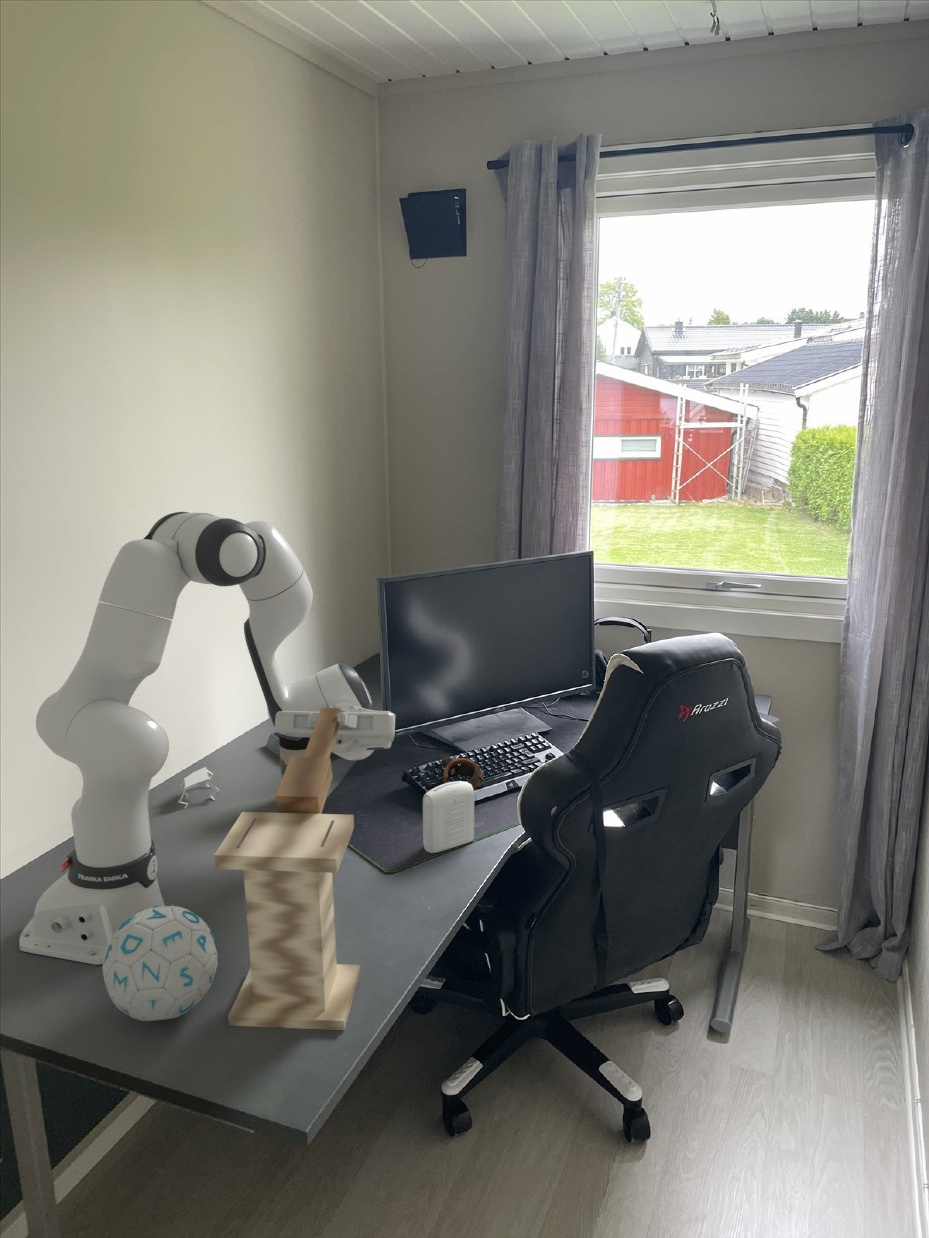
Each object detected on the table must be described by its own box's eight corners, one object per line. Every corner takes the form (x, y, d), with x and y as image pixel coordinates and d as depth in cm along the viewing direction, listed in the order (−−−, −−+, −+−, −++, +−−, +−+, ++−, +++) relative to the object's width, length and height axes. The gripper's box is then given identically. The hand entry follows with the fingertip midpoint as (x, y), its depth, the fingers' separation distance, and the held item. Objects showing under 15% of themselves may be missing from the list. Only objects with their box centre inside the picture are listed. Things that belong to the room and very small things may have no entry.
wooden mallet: (278, 815, 129) (275, 795, 127) (314, 718, 150) (311, 701, 149) (320, 816, 129) (317, 797, 127) (350, 719, 150) (348, 701, 148)
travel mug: (318, 790, 194) (314, 711, 189) (324, 806, 186) (320, 724, 182) (280, 795, 191) (275, 716, 186) (285, 812, 184) (280, 729, 179)
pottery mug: (496, 790, 194) (491, 767, 189) (465, 819, 190) (458, 797, 185) (459, 761, 201) (452, 738, 196) (428, 788, 198) (420, 766, 192)
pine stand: (228, 1025, 124) (214, 854, 117) (254, 969, 135) (242, 811, 128) (344, 1030, 123) (336, 858, 116) (360, 973, 134) (353, 814, 127)
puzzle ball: (192, 1052, 119) (182, 953, 115) (86, 1039, 121) (73, 942, 117) (238, 978, 133) (230, 888, 129) (143, 968, 136) (133, 880, 132)
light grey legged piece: (218, 808, 186) (216, 786, 185) (176, 811, 185) (174, 789, 184) (225, 783, 197) (224, 762, 196) (186, 785, 196) (184, 764, 195)
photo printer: (465, 832, 176) (465, 773, 172) (477, 841, 172) (477, 781, 169) (419, 847, 170) (418, 786, 167) (431, 856, 167) (430, 795, 163)
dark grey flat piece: (304, 775, 202) (303, 758, 201) (263, 748, 216) (262, 732, 215) (353, 759, 210) (352, 743, 209) (310, 735, 225) (310, 719, 223)
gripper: (287, 710, 161) (265, 697, 148) (401, 712, 160) (389, 699, 146) (284, 746, 159) (262, 736, 146) (399, 748, 158) (387, 738, 145)
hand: (327, 718), depth 146 cm, fingers open, 3 cm apart
